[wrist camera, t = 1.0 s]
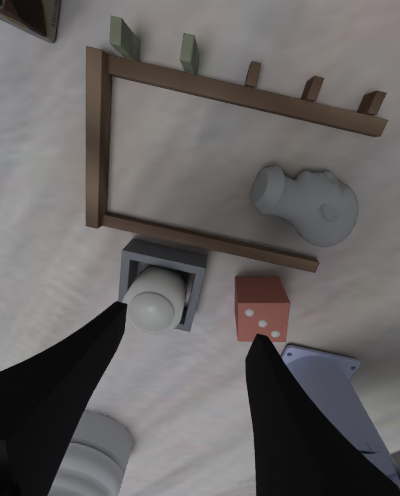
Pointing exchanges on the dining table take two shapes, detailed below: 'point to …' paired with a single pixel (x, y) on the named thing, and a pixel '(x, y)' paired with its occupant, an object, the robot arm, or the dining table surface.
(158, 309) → the dome button
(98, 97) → the brown wooden frame
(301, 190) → the smooth white sculpture
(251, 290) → the die
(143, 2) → the dining table surface
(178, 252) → the grey square tray
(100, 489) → the honey pot
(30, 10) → the coffee box
